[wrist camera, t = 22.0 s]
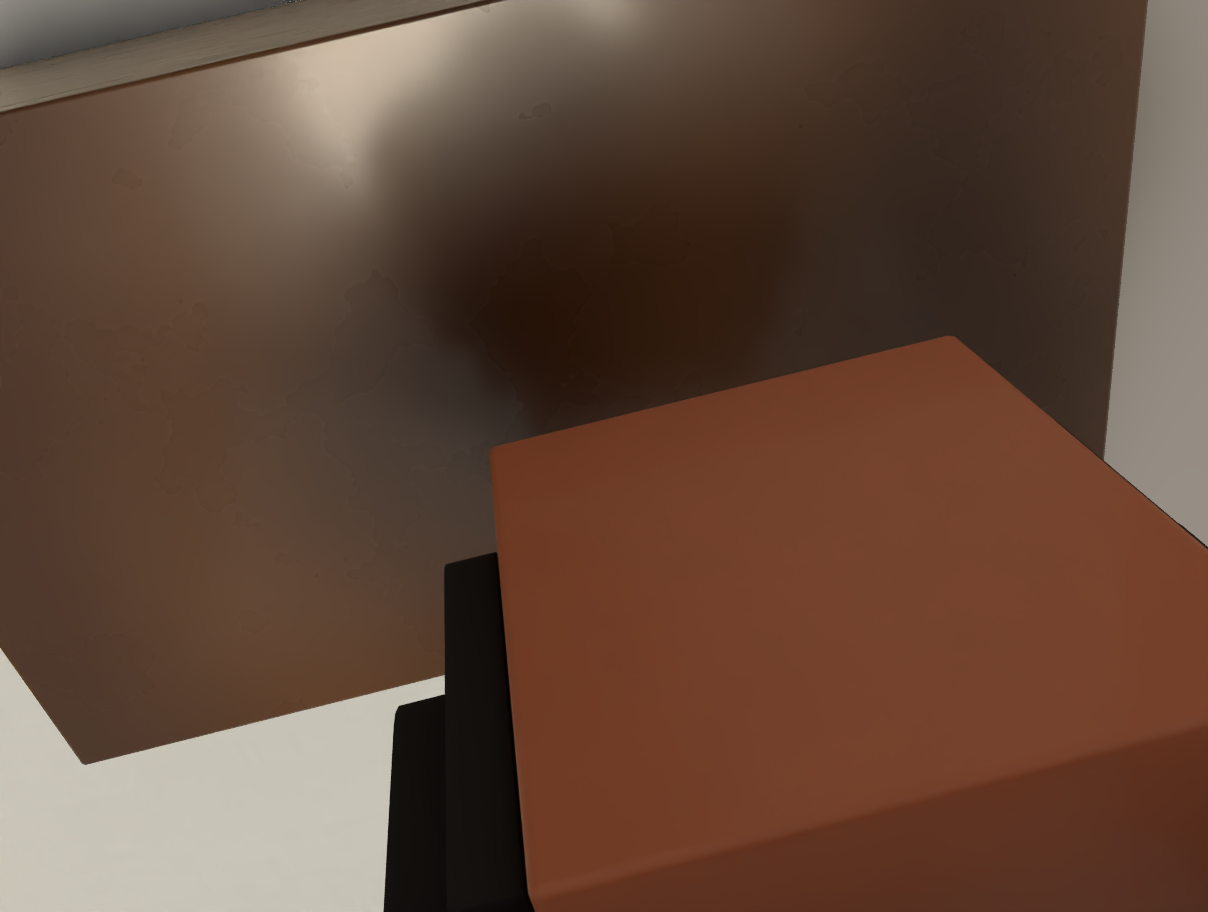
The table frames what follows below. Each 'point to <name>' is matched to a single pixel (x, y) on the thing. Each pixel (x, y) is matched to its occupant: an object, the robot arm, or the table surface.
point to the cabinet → (483, 291)
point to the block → (851, 655)
